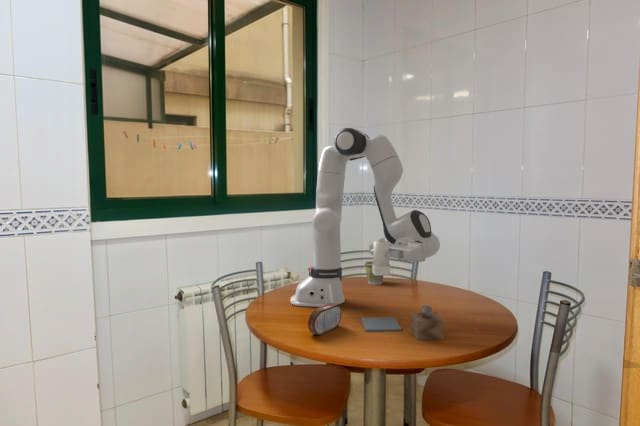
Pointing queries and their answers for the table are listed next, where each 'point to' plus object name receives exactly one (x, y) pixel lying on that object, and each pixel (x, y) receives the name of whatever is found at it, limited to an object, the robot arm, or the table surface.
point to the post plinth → (427, 325)
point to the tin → (324, 319)
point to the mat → (381, 324)
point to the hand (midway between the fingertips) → (379, 253)
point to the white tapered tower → (380, 257)
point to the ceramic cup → (370, 276)
